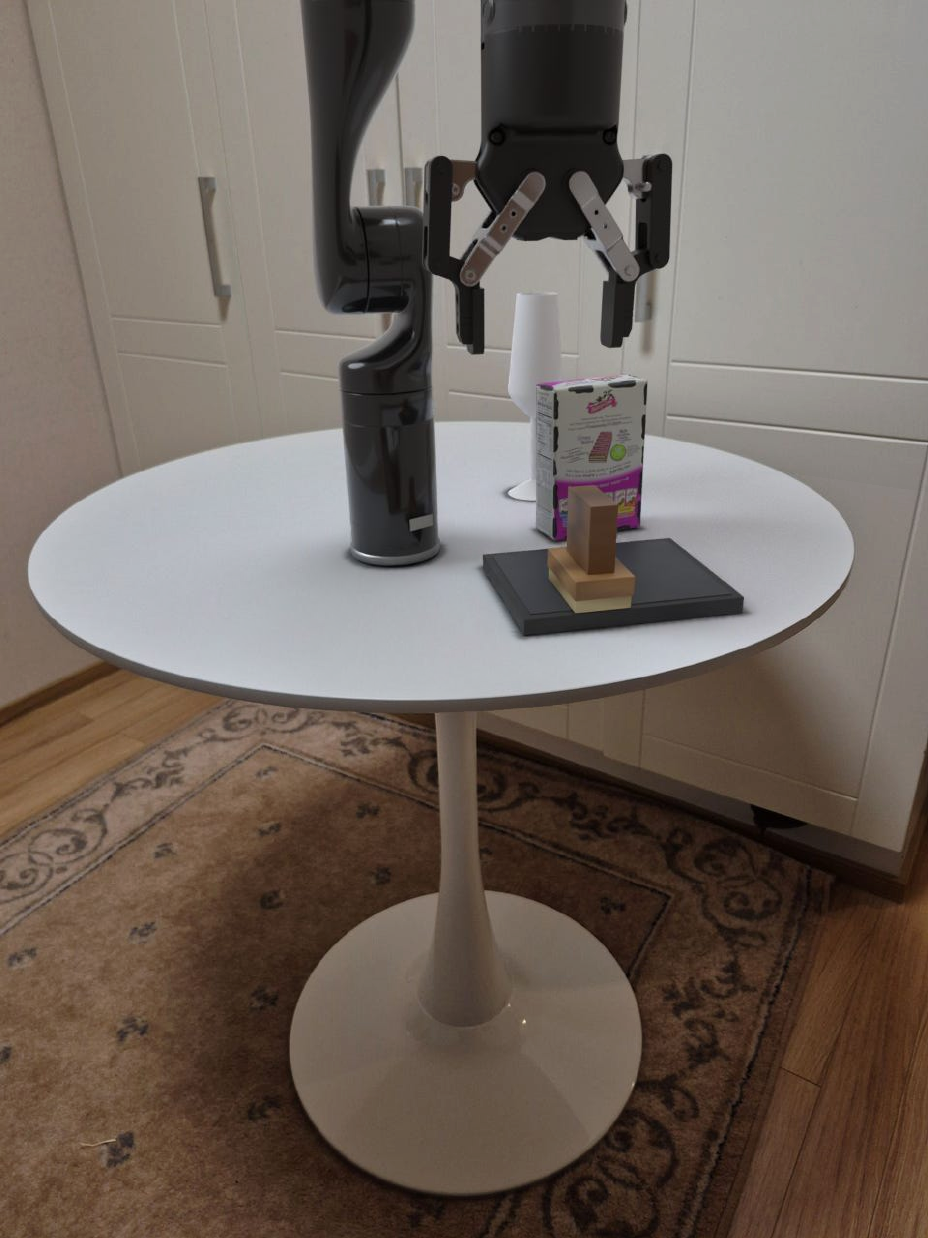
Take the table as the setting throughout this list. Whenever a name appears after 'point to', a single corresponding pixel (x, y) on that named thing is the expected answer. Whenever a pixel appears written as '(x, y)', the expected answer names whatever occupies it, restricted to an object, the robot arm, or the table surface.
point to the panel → (660, 594)
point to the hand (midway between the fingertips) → (543, 349)
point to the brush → (591, 555)
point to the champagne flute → (533, 365)
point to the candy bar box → (589, 446)
